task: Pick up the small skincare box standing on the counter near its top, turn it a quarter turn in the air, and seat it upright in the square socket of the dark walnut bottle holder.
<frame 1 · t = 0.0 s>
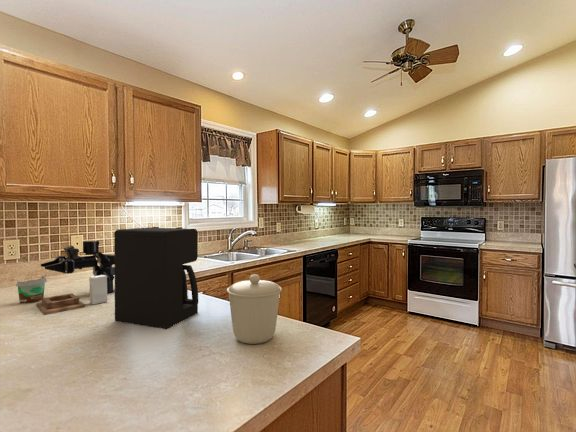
hand: (42, 266, 140), 17 cm above the countertop, tool horizontal, fingers open, 9 cm apart
skincare box: (98, 303, 142), on the countertop
canister: (254, 338, 104), on the countertop
food container: (35, 301, 144), on the countertop
bottle holder: (60, 306, 136), on the countertop
coffee maker: (162, 318, 123), on the countertop
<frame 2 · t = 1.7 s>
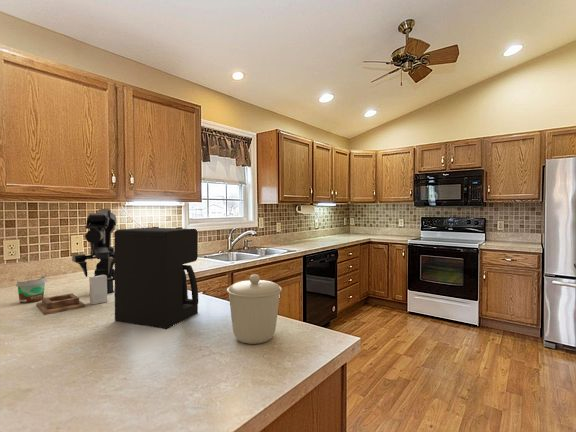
hand: (98, 275, 142), 12 cm above the countertop, tool pointing down, fingers open, 9 cm apart
nothing on the countertop moved.
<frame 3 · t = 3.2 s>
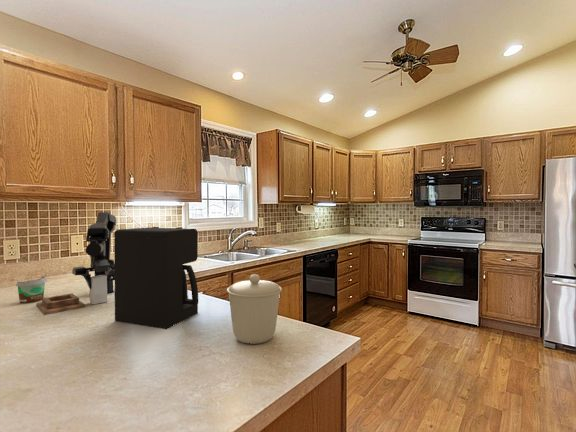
hand: (98, 287, 142), 7 cm above the countertop, tool pointing down, fingers closed on skincare box, 6 cm apart
skincare box: (98, 303, 142), on the countertop, touching gripper
everything else where it was.
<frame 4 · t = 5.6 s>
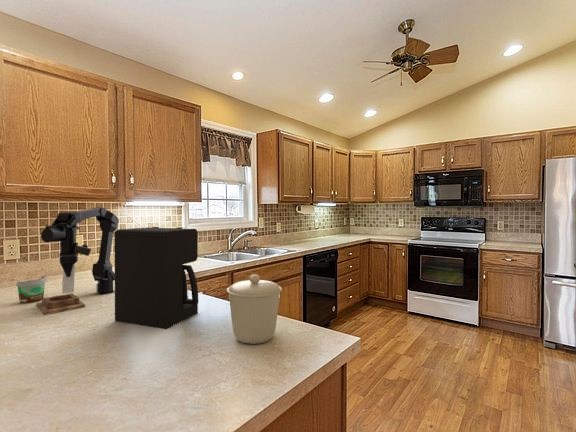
hand: (68, 275, 137), 13 cm above the countertop, tool pointing down, fingers closed on skincare box, 6 cm apart
skincare box: (68, 292, 137), point 6 cm above the countertop, touching gripper
everything else where it was.
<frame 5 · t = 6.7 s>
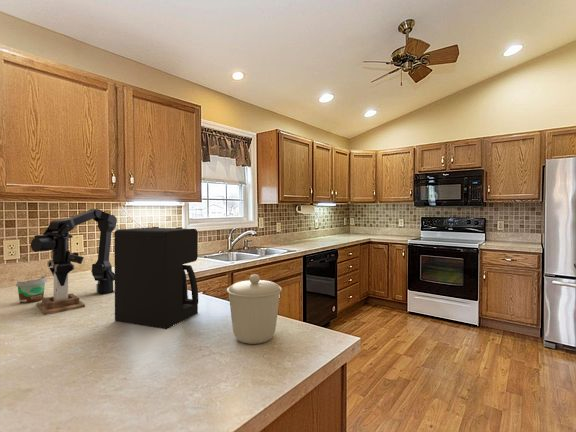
hand: (60, 284, 136), 9 cm above the countertop, tool pointing down, fingers closed on skincare box, 6 cm apart
skincare box: (61, 301, 137), point 2 cm above the countertop, touching gripper
everything else where it was.
when the fingers open (9 cm above the countertop, at t = 7.8 s): skincare box stays where it is, resting on bottle holder.
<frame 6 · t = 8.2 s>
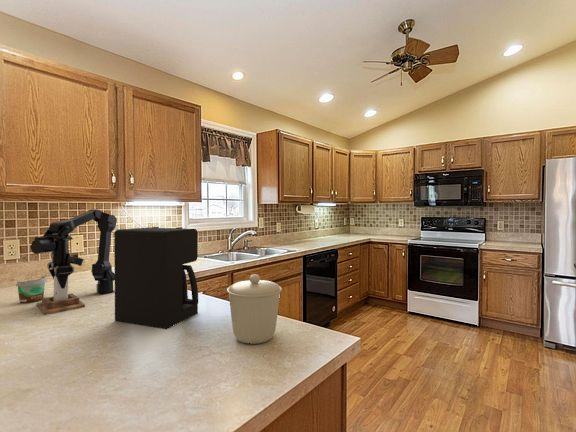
hand: (60, 286, 136), 9 cm above the countertop, tool pointing down, fingers open, 9 cm apart
skincare box: (60, 304, 136), point 1 cm above the countertop, touching bottle holder
everything else where it was.
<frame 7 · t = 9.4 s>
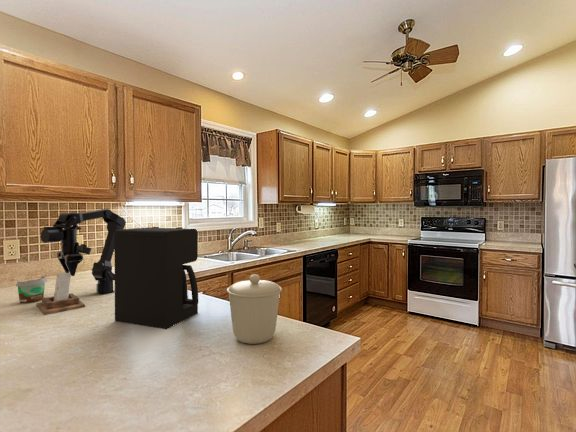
hand: (70, 274, 142), 13 cm above the countertop, tool pointing down, fingers open, 9 cm apart
skincare box: (61, 301, 136), point 2 cm above the countertop, touching bottle holder
everything else where it was.
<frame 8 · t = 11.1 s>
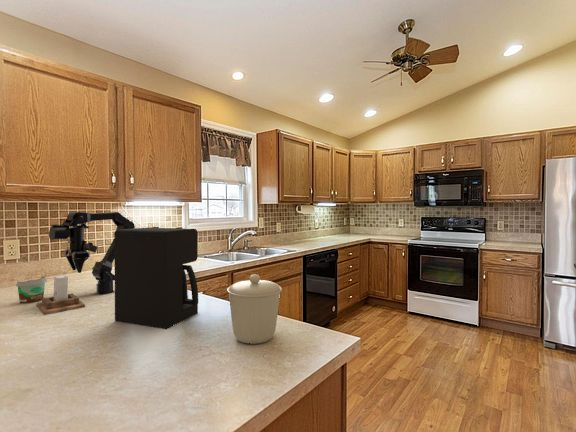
hand: (76, 271, 147), 13 cm above the countertop, tool pointing down, fingers open, 9 cm apart
skincare box: (60, 304, 136), point 1 cm above the countertop, touching bottle holder
everything else where it was.
at the end: skincare box 0.1 cm off-centre on the bottle holder, point 0.8 cm above the bottle holder's base; skincare box tilted 0°; the gripper is holding nothing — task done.
